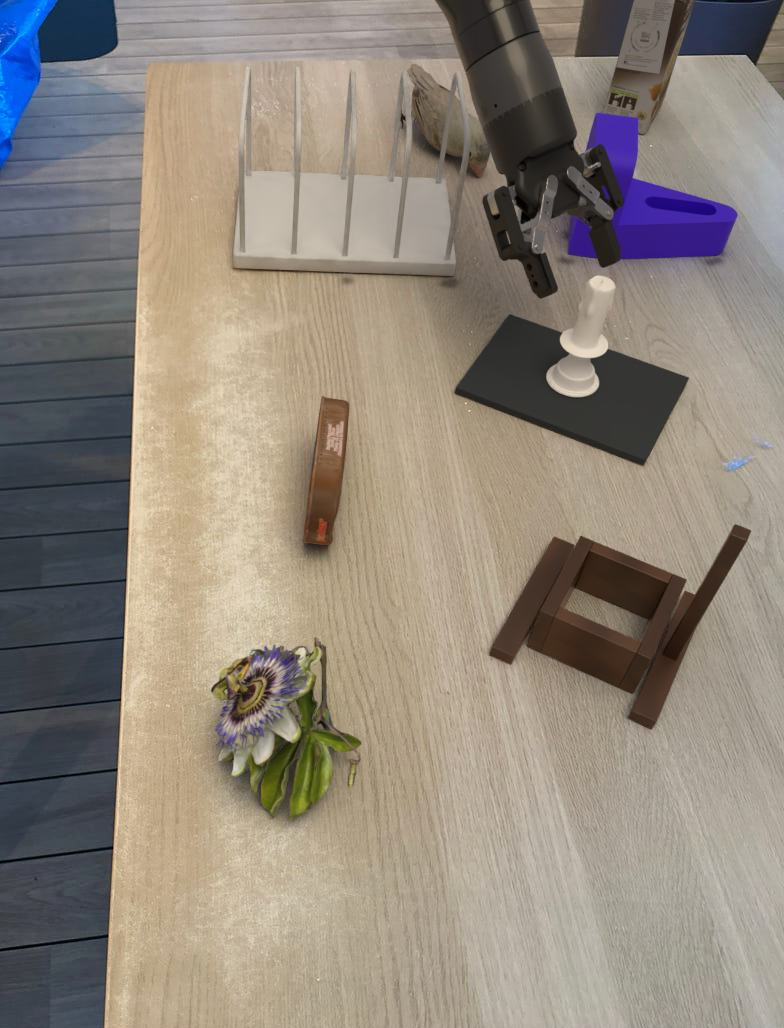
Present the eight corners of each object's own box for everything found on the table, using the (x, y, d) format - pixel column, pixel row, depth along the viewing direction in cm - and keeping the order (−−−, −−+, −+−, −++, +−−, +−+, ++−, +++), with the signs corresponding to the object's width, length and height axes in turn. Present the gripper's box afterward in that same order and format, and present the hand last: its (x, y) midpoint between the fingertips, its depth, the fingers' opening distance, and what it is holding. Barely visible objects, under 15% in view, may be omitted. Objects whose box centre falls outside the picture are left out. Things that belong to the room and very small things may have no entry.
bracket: (567, 254, 115) (594, 155, 106) (571, 203, 121) (597, 105, 112) (725, 276, 113) (767, 177, 104) (721, 223, 120) (760, 125, 110)
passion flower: (240, 767, 81) (217, 630, 77) (372, 758, 80) (356, 617, 76) (215, 840, 71) (187, 686, 67) (366, 831, 69) (347, 672, 65)
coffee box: (645, 136, 131) (687, 2, 118) (599, 124, 133) (634, -10, 119) (663, 105, 136) (704, -26, 123) (617, 94, 137) (653, -37, 124)
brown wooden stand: (702, 608, 85) (780, 475, 72) (651, 729, 78) (727, 606, 65) (551, 544, 89) (598, 407, 76) (488, 654, 82) (529, 524, 69)
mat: (686, 383, 102) (689, 377, 102) (643, 466, 95) (646, 460, 95) (508, 319, 108) (509, 313, 107) (454, 393, 101) (455, 387, 100)
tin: (314, 444, 96) (317, 374, 89) (347, 447, 96) (352, 377, 89) (299, 563, 87) (302, 496, 80) (335, 566, 87) (341, 500, 80)
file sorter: (233, 270, 112) (227, 132, 99) (240, 186, 122) (236, 51, 109) (454, 277, 112) (478, 140, 99) (444, 192, 122) (463, 58, 109)
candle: (587, 405, 99) (622, 302, 89) (538, 386, 100) (566, 283, 91) (605, 374, 102) (641, 271, 92) (557, 357, 103) (586, 253, 93)
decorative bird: (464, 185, 123) (474, 124, 117) (388, 127, 131) (394, 68, 125) (498, 173, 125) (509, 113, 119) (421, 117, 133) (428, 58, 126)
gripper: (488, 110, 83) (554, 296, 87) (604, 64, 88) (661, 242, 93) (437, 144, 90) (501, 316, 94) (548, 100, 95) (603, 265, 99)
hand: (580, 279), depth 93 cm, fingers open, 8 cm apart
